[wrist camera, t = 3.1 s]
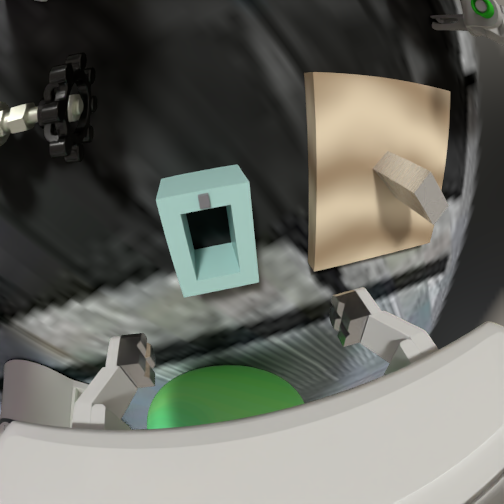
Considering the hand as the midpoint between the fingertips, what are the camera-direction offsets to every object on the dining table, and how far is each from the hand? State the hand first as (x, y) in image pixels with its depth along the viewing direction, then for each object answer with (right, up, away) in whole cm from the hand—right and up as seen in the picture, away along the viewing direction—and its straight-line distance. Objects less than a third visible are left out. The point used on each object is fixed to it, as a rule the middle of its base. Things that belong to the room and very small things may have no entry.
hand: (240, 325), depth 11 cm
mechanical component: (+17, +24, +3) cm, 29 cm away
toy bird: (-4, -13, +21) cm, 25 cm away
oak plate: (+12, +10, +10) cm, 18 cm away
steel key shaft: (+12, +9, +9) cm, 18 cm away
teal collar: (-3, +6, +9) cm, 11 cm away
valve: (-16, +13, +2) cm, 20 cm away
